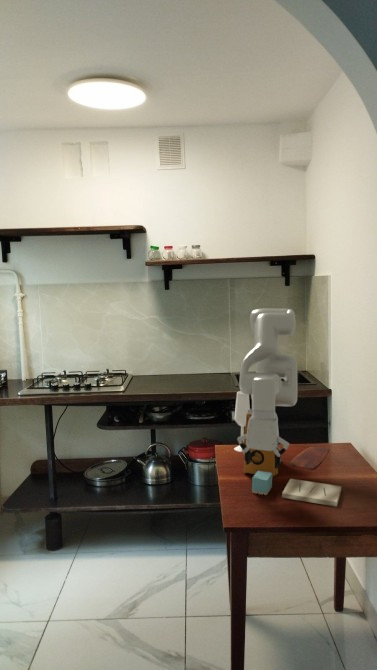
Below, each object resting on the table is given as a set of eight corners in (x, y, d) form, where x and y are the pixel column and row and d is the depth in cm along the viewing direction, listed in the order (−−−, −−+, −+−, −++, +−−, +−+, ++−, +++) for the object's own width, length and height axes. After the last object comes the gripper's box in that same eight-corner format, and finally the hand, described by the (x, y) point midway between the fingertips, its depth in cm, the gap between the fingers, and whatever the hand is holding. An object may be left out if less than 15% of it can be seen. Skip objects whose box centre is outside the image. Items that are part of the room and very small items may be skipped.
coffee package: (272, 481, 176) (273, 419, 174) (239, 474, 182) (240, 415, 180) (282, 472, 184) (283, 413, 182) (250, 466, 191) (251, 409, 188)
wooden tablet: (314, 471, 187) (314, 467, 187) (288, 466, 192) (288, 462, 192) (332, 450, 210) (333, 446, 209) (309, 446, 215) (309, 442, 214)
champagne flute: (250, 446, 213) (251, 390, 210) (250, 452, 206) (250, 394, 203) (234, 446, 213) (235, 390, 211) (233, 451, 207) (234, 393, 204)
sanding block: (251, 492, 167) (252, 478, 166) (257, 484, 173) (257, 470, 172) (266, 495, 165) (267, 480, 164) (271, 487, 171) (272, 472, 171)
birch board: (282, 497, 163) (282, 493, 163) (290, 482, 175) (290, 478, 175) (336, 506, 156) (336, 501, 156) (341, 490, 168) (341, 486, 168)
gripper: (234, 414, 166) (233, 465, 167) (287, 419, 159) (286, 472, 160) (241, 409, 173) (240, 458, 174) (292, 414, 166) (290, 465, 167)
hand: (262, 465), depth 167 cm, fingers open, 9 cm apart
